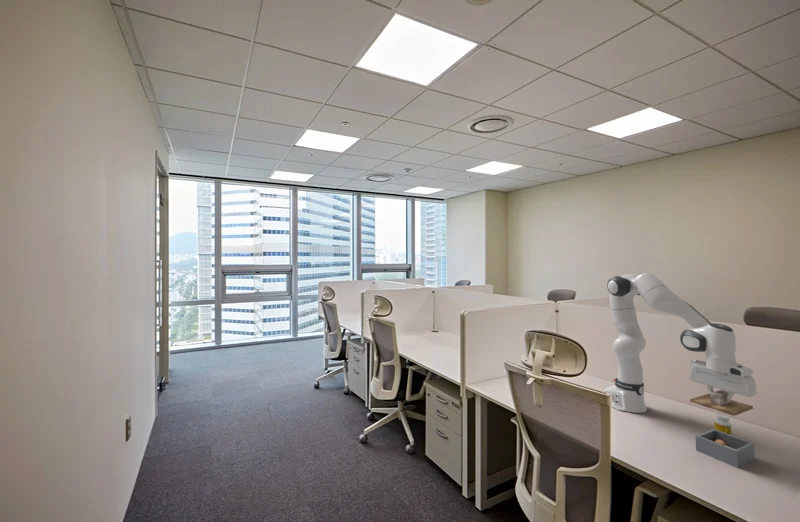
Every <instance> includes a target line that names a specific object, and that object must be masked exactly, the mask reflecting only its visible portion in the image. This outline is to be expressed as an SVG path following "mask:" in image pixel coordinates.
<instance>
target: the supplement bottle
mask: <svg viewBox="0 0 800 522" xmlns="http://www.w3.org/2000/svg"><path fill="white" fill-rule="evenodd" d="M714 429H715V430H718V431H721V432H723V433H726V434H729V435H732V424H731V422H730V417H729V416H728V415H725V414H720V413H719V414H716V418H715V419H714Z"/></svg>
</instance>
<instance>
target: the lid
mask: <svg viewBox="0 0 800 522" xmlns="http://www.w3.org/2000/svg"><path fill="white" fill-rule="evenodd" d="M728 395H729V394H728V391H726V390H722V389H719V390H716V391H714V392H713V393H711V396H710V392H709V393H706V394H703V395H699V396H696V397H693V398H690V399H689V400H690V401H689V402H690V403H692V404H697V405H699V406H701V407H705V408H708V409H712V410H714V411H717V412H721V413H723V414H727V415H730V416H734V417H735V416H738V415H741V414H743V413H745V412H746V413H747V412H748V411H751V410H753V409H754V407H753V405H750V404H747V403H743V402H739V401H736V400H733V399H731V402H726V401H724V397H726V396H728Z"/></svg>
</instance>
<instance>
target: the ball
mask: <svg viewBox="0 0 800 522" xmlns="http://www.w3.org/2000/svg"><path fill="white" fill-rule="evenodd" d="M714 442H716V443H719V444H721V445H724V446H727V445H726V443H725V442H724V441H722V440H715V441H714Z"/></svg>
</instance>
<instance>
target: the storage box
mask: <svg viewBox="0 0 800 522" xmlns="http://www.w3.org/2000/svg"><path fill="white" fill-rule="evenodd" d="M715 440H722V441H724V442H725V443H726V445H727V446H728V447H726V446H724V445H721V444H719V443H716V442H714V441H715ZM729 447H731V448H733V449H731V448H729ZM734 449H735V450H734ZM695 451H696V452H698V453H701V454H703V455H706V456H708V457H711V458H713V459H715V460H718V461H720V462H722V463H725V464H727V465H730V466H731V467H733V468H736V469H738V468H740V467H742V466H744V465H745V464H748V463H749V462H752V461H754V460H755V455H756V454H755V443H754V442H752V441H748V440H745V439H743V438H739V437H737V436H734V435H732V434H731V435H729V434H726V433H723V432H721V431H718V430H715V428H712V429H709V430H707V431H704V432H702V433H699V434H696V435H695Z"/></svg>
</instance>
